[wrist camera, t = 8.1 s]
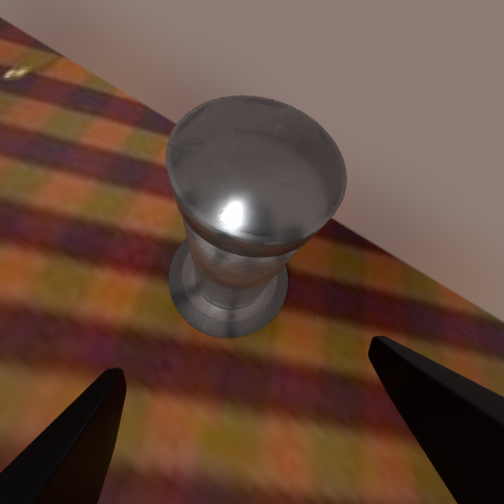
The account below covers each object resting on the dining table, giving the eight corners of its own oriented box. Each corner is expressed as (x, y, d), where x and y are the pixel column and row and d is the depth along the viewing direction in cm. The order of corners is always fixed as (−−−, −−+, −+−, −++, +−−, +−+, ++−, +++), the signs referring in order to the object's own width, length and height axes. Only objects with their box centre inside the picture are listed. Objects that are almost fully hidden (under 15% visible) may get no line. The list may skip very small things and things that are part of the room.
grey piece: (273, 301, 17) (374, 225, 6) (200, 317, 16) (177, 256, 5) (257, 237, 19) (314, 94, 8) (190, 247, 18) (157, 95, 7)
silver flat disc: (307, 298, 19) (313, 295, 18) (204, 364, 16) (203, 365, 15) (249, 210, 21) (251, 203, 20) (150, 254, 18) (146, 248, 17)
